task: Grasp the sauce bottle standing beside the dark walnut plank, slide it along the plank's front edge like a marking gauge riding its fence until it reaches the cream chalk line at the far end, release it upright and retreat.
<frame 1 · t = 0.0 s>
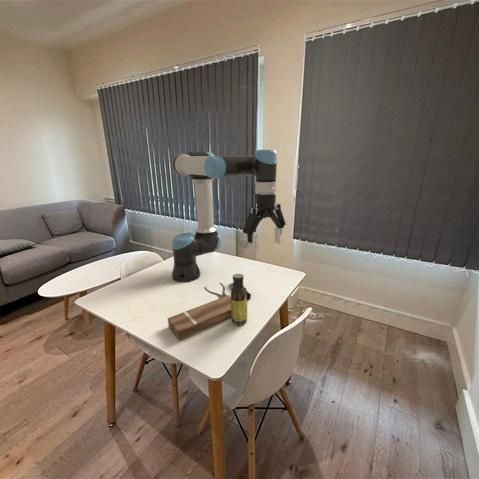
hand: (264, 246, 105), 28 cm above the table, fingers open, 13 cm apart
pliers: (222, 293, 127), on the table
walnut plank: (206, 320, 105), on the table
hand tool: (239, 292, 127), on the table
sauce bottle: (239, 321, 104), on the table
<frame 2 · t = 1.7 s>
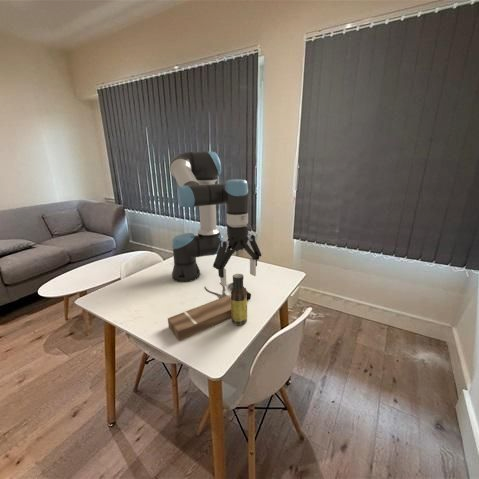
hand: (238, 279, 98), 18 cm above the table, fingers open, 13 cm apart
nothing on the table moved.
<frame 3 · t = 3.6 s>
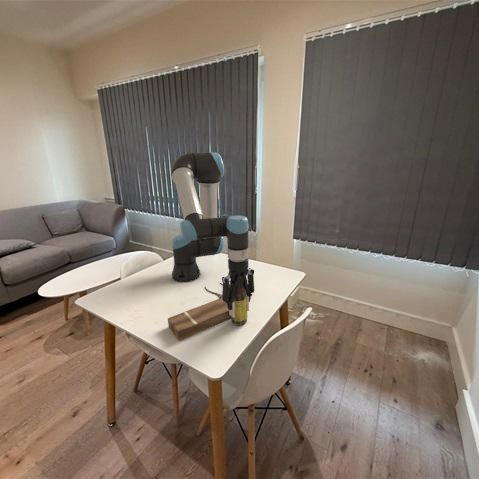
hand: (239, 312, 103), 4 cm above the table, fingers closed on sauce bottle, 6 cm apart
sauce bottle: (239, 321, 104), on the table, touching gripper
everything else where it was.
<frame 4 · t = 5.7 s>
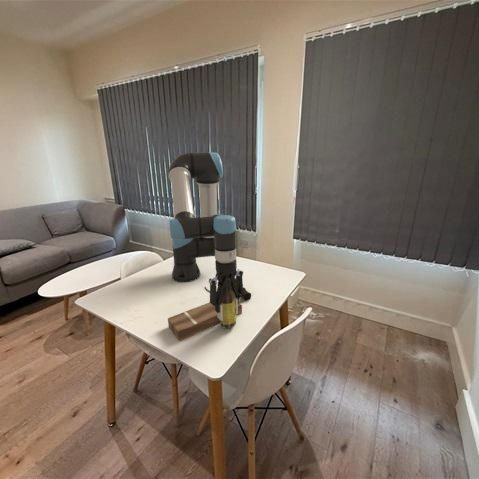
hand: (227, 315, 100), 5 cm above the table, fingers closed on sauce bottle, 6 cm apart
sauce bottle: (228, 324, 101), point 1 cm above the table, touching gripper
everything else where it was.
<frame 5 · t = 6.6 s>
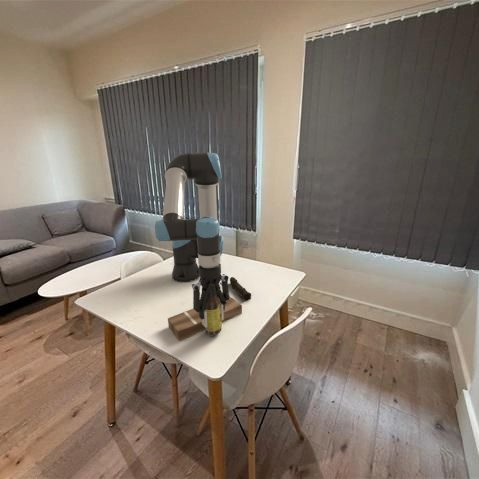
hand: (212, 321, 96), 5 cm above the table, fingers closed on sauce bottle, 6 cm apart
sauce bottle: (213, 331, 97), point 1 cm above the table, touching gripper
when the fingers open (5 cm above the table, at t = 8.0 s): sauce bottle stays where it is, on the table.
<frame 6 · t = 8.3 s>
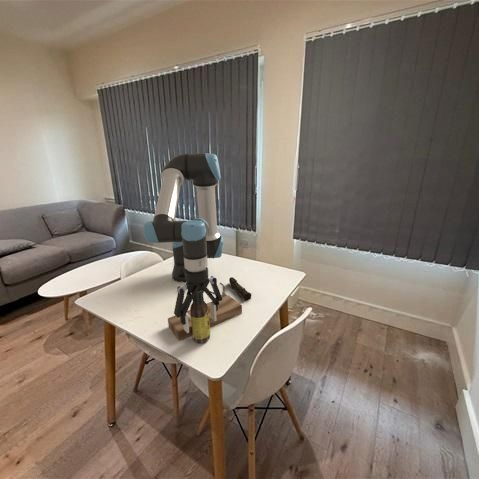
hand: (200, 324, 93), 6 cm above the table, fingers open, 10 cm apart
sauce bottle: (201, 338, 95), on the table
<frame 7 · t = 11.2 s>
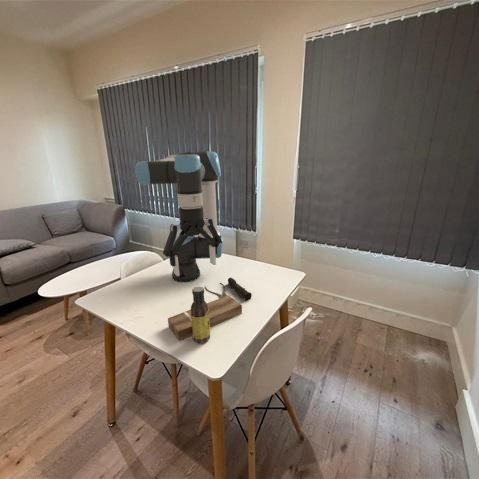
hand: (195, 268, 88), 27 cm above the table, fingers open, 13 cm apart
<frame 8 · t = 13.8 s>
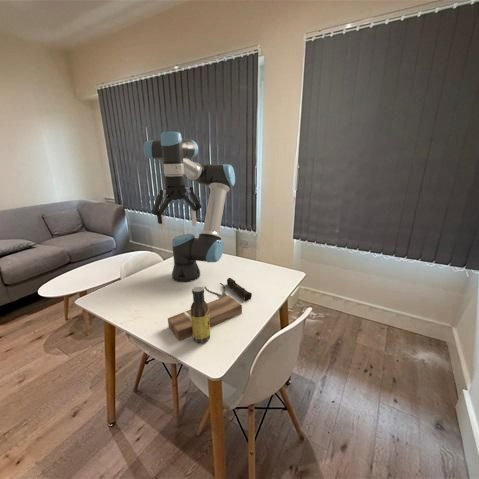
hand: (179, 228, 107), 35 cm above the table, fingers open, 13 cm apart
at the end: sauce bottle 0.5 cm from the target spot, on the table; sauce bottle tilted 0°; the gripper is holding nothing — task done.
